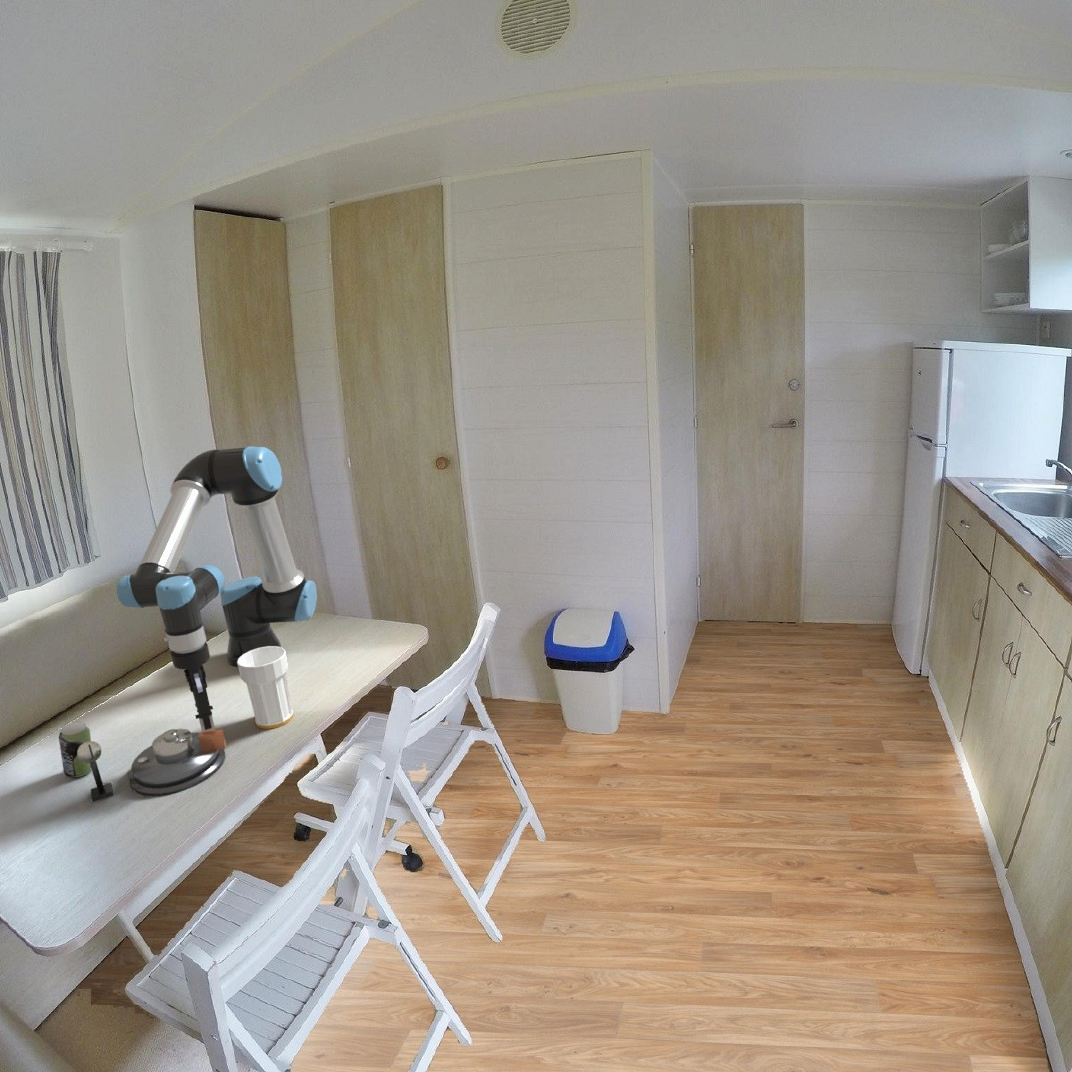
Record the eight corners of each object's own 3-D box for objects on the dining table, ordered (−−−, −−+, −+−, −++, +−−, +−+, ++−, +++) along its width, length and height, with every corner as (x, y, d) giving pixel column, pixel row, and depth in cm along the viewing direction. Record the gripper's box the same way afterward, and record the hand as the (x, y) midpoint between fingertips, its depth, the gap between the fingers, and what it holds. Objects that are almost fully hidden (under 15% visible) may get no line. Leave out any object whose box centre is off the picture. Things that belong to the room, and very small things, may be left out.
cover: (163, 746, 177) (157, 726, 175) (198, 741, 178) (193, 720, 176) (151, 766, 169) (145, 745, 168) (188, 761, 170) (183, 739, 169)
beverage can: (73, 766, 179) (59, 721, 175) (105, 762, 179) (92, 717, 176) (59, 782, 173) (45, 736, 169) (93, 778, 173) (79, 732, 170)
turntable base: (127, 763, 178) (126, 759, 178) (217, 733, 187) (216, 730, 187) (133, 807, 161) (132, 803, 161) (232, 772, 171) (231, 768, 170)
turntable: (147, 748, 181) (141, 725, 179) (235, 733, 184) (230, 711, 182) (122, 794, 164) (114, 769, 162) (219, 777, 167) (213, 753, 165)
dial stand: (90, 793, 168) (74, 740, 164) (113, 785, 170) (97, 733, 166) (91, 802, 164) (74, 749, 160) (114, 794, 166) (98, 742, 162)
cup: (241, 728, 189) (226, 664, 184) (271, 704, 199) (258, 643, 193) (278, 734, 185) (264, 669, 179) (307, 710, 195) (295, 648, 189)
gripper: (166, 640, 171) (189, 731, 179) (173, 662, 161) (196, 758, 169) (202, 631, 175) (223, 720, 182) (211, 652, 164) (232, 746, 172)
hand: (210, 738), depth 176 cm, fingers closed
